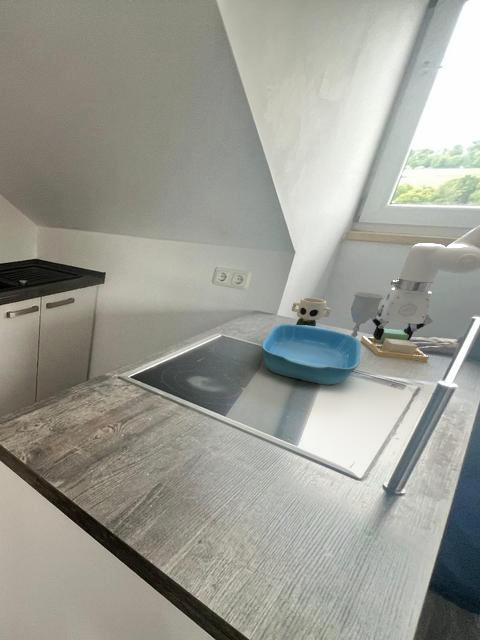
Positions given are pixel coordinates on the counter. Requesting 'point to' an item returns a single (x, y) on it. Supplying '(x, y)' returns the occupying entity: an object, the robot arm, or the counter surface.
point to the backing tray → (376, 349)
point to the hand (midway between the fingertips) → (390, 339)
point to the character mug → (310, 311)
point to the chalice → (364, 308)
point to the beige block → (399, 346)
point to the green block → (393, 335)
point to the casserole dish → (311, 353)
